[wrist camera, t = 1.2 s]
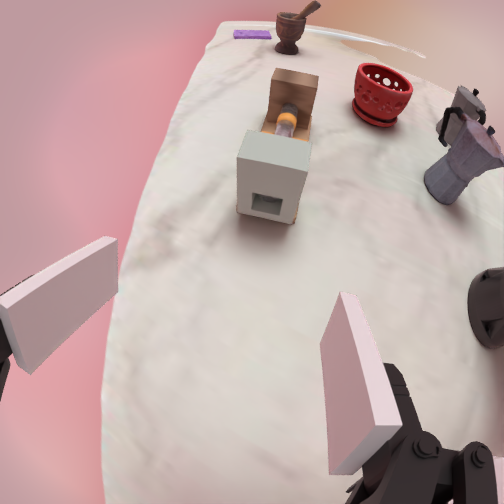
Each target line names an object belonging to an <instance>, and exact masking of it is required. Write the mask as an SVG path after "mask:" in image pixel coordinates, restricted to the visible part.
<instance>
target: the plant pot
mask: <svg viewBox="0 0 504 504" xmlns="http://www.w3.org/2000/svg"><path fill="white" fill-rule="evenodd" d="M368 74H370V77H368V76H367V75H368ZM376 74H379V75H380V77H379V78H376V77H375V75H376ZM384 78H388V79H389V80H390V82H391V84H390V85H389V86H386V85H385V84H384V83H383V79H384ZM377 82H379V83H380V84H378V83H377ZM395 82H397V83H398V86H397V87H396V86H395V85H394V83H395ZM393 89H395V90H393ZM400 89H402V91H400ZM412 92H413V87H412V85H411V83H410V82H409V81H408V80H407V79H406V78H405V77H404V76H402V75H401V74H399V73H398V72H396V71H394V70H392V69H390V68H388V67H385V66H382V65H379V64H374V63H363V64H361V65H359V67H358V70H357V73H356V78H355V85H354V94H355V98H354V99H353V101H352V105H353V108H354V110H355V112H356V113H357V114H358V115H359V116H360V117H361V118H362V119H364V120H365V121H367V122H369V123H371V124H374V125H376V126H381V127H389V126H392V125H394V124H395V123H396V122H397V116H398V115H399V114H400V113H401V112H402V111H403V110H404V108H405V107H406V105H407V104H408V102H409V100H410V98H411V95H412Z"/></svg>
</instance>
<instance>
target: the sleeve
mask: <svg viewBox="0 0 504 504" xmlns="http://www.w3.org/2000/svg"><path fill="white" fill-rule="evenodd" d="M311 147H312V143H311V142H307V141H302V140H298V139H293V138H289V137H284V136H279V135H274V134H269V133H264V132H258V131H252V130H247V132H246V134H245V137H244V140H243V142H242V145H241V147H240V150H239V153H238V155H237V213H242V214H247V215H252V216H256V217H261V218H265V219H270V220H274V221H279V222H283V223H288V224H292V222H293V219H294V216H295V213H296V209H297V206H298V203H299V200H300V197H301V193H302V190H303V187H304V184H305V180H306V177H307V174H308V169H309V162H310V155H311ZM258 194H262V195H267V196H272V197H276V198H279V200H278V201H276V202H266V201H263V200H262V199H260V198H259V196H258Z"/></svg>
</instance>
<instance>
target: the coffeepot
mask: <svg viewBox="0 0 504 504" xmlns="http://www.w3.org/2000/svg"><path fill="white" fill-rule="evenodd" d="M478 93H479V91H478V90H477V89H474V90H473V93H471V92H470V91H469V90H468V89H467V88H465V87H463V86H461V87H459V86H458V88H457V91H456V94H455V97H454V100H453V102H452V105H451V107H460V108H461V109H462V110H463V112H464V113H465V114H467V115H468V116H469V117H470V118H471V119H472V120H477V119H478V118H479V117H480V119H479V120H478V121H477V122H479V123H480V124H481V125H483V124H484V123H485V121H486V114H485V111H486V109H485V106H484V105H483V103H482V102H481V101H480V100H479V99H478V98H477V97H476V95H477V94H478ZM442 122H443V118H442V119H441V120H440V121H439V122H438V123H437V127H436V129H437V132H438V134H440V130H441V126H442ZM462 125H463V123H462V122H461V121H460V120H459V119H458V116H457V115H456V114H455V113H451V114H450V118H449V121H448V125H447V129H446V131H445V136H444V140H445V141H446V142H447V143H448V144H450V145H452V143H453V141H454V140H455V138H456V136H457V134H458V133H459V131H460V129H461V127H462Z"/></svg>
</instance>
